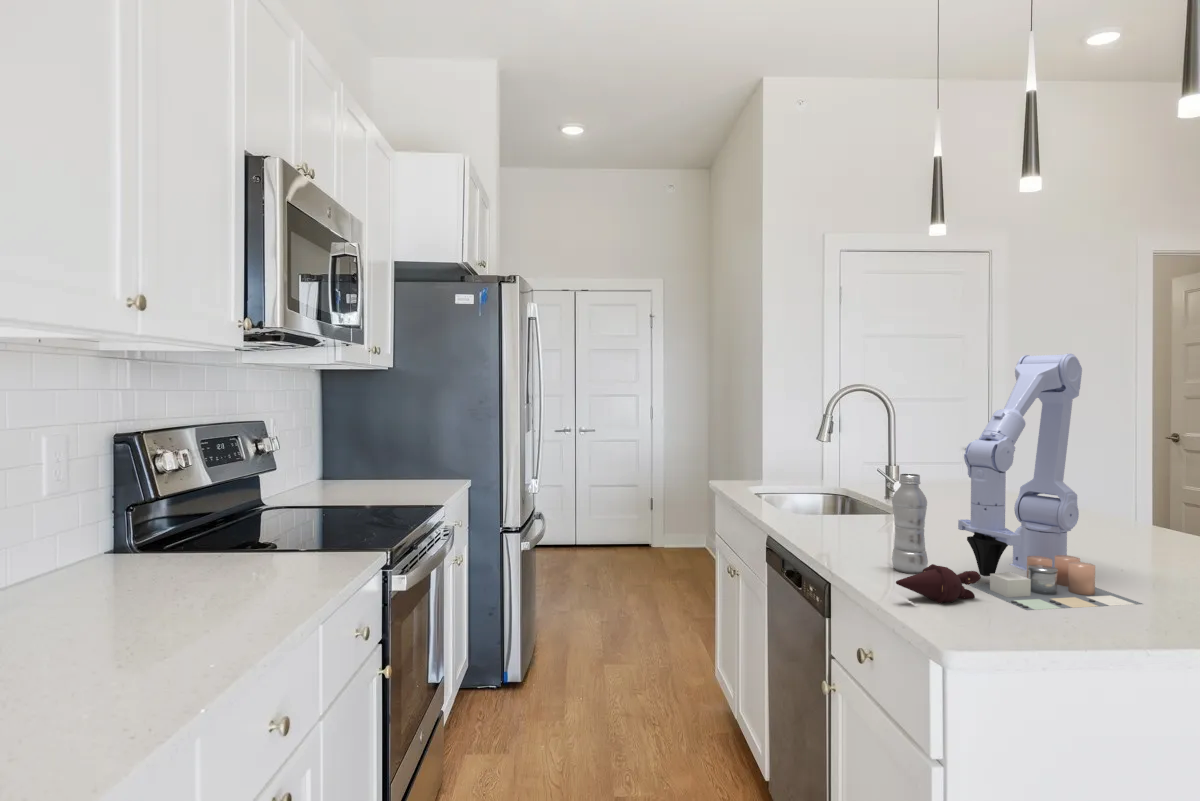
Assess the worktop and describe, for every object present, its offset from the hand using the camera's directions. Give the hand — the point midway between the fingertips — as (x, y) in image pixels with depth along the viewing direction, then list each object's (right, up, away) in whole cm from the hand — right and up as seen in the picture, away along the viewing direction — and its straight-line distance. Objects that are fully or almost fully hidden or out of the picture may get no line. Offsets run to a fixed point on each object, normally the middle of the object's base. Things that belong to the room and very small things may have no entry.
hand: (987, 575), depth 132 cm
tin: (+7, -2, -5) cm, 9 cm away
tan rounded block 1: (+9, -2, -1) cm, 9 cm away
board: (+8, -2, -6) cm, 11 cm away
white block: (+1, -2, -6) cm, 6 cm away
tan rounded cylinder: (+14, -2, -6) cm, 15 cm away
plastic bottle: (-10, -2, +10) cm, 14 cm away
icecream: (-14, -3, -9) cm, 17 cm away
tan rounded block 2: (+15, -2, -1) cm, 15 cm away
